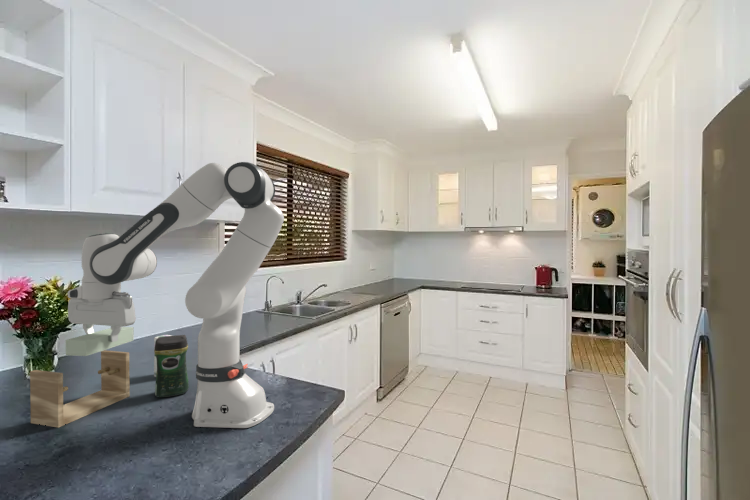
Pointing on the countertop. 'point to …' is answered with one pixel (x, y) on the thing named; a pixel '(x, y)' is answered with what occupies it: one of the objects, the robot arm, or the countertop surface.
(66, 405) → the shelf unit
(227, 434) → the countertop surface
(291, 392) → the countertop surface
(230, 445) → the countertop surface
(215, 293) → the robot arm
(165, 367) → the coffee jar
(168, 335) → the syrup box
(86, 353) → the shelf board
